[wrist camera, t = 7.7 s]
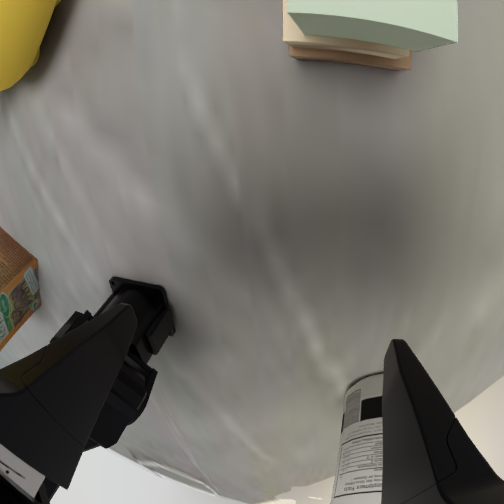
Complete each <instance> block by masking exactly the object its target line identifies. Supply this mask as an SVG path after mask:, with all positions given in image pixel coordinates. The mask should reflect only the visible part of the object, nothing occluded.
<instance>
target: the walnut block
mask: <svg viewBox="0 0 504 504" xmlns="http://www.w3.org/2000/svg"><path fill="white" fill-rule="evenodd" d="M289 56H291V57H293V58H295V59H305V60H321V61H333V62H343V63H352V64H360V65H368V66H374V67H381V68H387V69H392V70H411V50H409V56H407V57H402V58H398V59H390V58H385V57H379V56H373V55H367V54H360V53H353V52H345V51H336V50H325V49H313V48H295V47H291V46H290V45H289Z"/></svg>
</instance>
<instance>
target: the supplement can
mask: <svg viewBox="0 0 504 504" xmlns="http://www.w3.org/2000/svg"><path fill="white" fill-rule="evenodd" d="M382 392H383V374H378V375H373V376H369V377H367V378H364V379H362V380H360V381H359V382H357V383H356V384H355V385H354V386H352V387H351V388H350V389H349V390H348V391H347V393H346V395H345V399H344V410H343V420H342V429H341V438H340V446H339V453H338V460H337V467H336V474H335V480H334V486H333V492H332V497H331V503H330V504H381V496H382V471H383V426H382Z"/></svg>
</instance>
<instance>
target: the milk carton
mask: <svg viewBox="0 0 504 504" xmlns="http://www.w3.org/2000/svg"><path fill="white" fill-rule="evenodd" d="M40 305H41V299H40V289H39V279H38V265H37V259H36V258H35V257H34V256H33V255H32V254H30V253H29V252H28V251H27V250H26V249H25V248H23V247H22V246H21V245H20V244H19V243H18V242H17V241H15V240H14V239H13V238H12V237H11V236H10V235H9V234H8V233H7V232H5V231H4V230H3V229H2V228H1V227H0V351H1V350H2V348H3V347H4V346H5V345H6V344H7V342H8V341H9V340H10V339H11V338H12V336H13V335H14V334H15V333H16V332H17V331H18V330H19V328H20V327H21V326H22V325H23V324H24V323H25V322H26V321H27V319H28V318H29V317H30V316H31V315H32V314H33V313H34V312H35V311H36V310H37V308H38V307H39V306H40Z"/></svg>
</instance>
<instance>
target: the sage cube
mask: <svg viewBox="0 0 504 504" xmlns="http://www.w3.org/2000/svg"><path fill="white" fill-rule="evenodd" d="M287 13H288V14H289V15H290V17H291V18H292V19H293V21H294V22H295V23H296V25H297V26H298V27H299V29H300V30H301V31H302V33H303V34H305V35H319V36H329V37H338V38H347V39H354V40H361V41H367V42H373V43H378V44H384V45H389V46H394V47H398V48H403V49H407V50H411V51H415V52H418V51H422V50H426V49H430V48H434V47H439V46H443V45H448V44H452V43H457V42H458V8H457V0H287Z"/></svg>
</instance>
